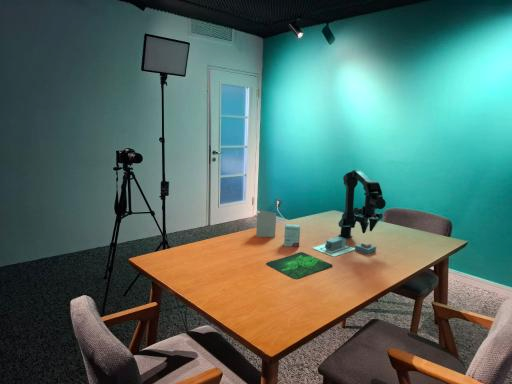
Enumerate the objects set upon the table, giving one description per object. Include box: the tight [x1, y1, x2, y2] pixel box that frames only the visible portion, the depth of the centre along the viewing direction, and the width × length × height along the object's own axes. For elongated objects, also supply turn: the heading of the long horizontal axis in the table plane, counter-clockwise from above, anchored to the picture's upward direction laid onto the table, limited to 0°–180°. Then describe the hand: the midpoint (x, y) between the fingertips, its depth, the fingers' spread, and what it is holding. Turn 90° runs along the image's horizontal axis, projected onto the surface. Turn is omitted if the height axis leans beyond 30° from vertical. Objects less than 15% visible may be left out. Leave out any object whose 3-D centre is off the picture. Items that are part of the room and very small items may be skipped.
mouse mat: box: [265, 251, 333, 280], centre depth 169 cm, size 27×22×1 cm
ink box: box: [283, 223, 301, 248], centre depth 195 cm, size 9×5×12 cm, turn 84°
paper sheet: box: [312, 243, 355, 258], centre depth 192 cm, size 20×15×1 cm
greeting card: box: [255, 210, 277, 238], centre depth 207 cm, size 11×7×15 cm, turn 58°
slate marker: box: [325, 236, 347, 251], centre depth 192 cm, size 14×4×5 cm, turn 129°
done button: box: [360, 241, 372, 248], centre depth 190 cm, size 4×4×3 cm
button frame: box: [354, 243, 377, 256], centre depth 191 cm, size 8×8×3 cm
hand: (367, 232), depth 189 cm, fingers open, 6 cm apart
